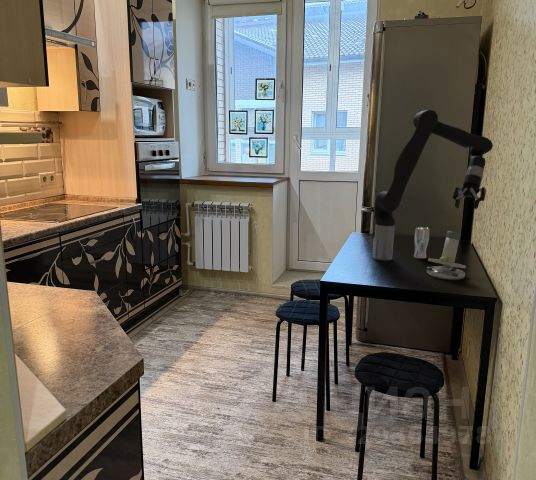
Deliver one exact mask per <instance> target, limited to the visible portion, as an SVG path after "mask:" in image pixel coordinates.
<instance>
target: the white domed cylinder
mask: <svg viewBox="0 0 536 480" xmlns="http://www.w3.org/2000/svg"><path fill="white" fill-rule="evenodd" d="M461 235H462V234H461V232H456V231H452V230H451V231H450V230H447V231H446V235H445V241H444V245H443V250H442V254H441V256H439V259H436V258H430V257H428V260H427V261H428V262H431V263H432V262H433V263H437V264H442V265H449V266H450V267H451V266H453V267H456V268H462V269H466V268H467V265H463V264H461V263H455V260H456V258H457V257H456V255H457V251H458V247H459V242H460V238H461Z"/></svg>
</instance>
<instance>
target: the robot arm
mask: <svg viewBox="0 0 536 480" xmlns="http://www.w3.org/2000/svg"><path fill="white" fill-rule="evenodd" d="M412 119H413V121H412V123H413V126H414V127H415V130H414V133H413V135H412V136H411V137H410V139H409V140H408V141H407V143H406V144H405V145H404V146H403V148H402V149H401V151H400V153H399V155H398V157H397V159H396V161H395V164H394V169H393V179H392V181H391V182H392V183H391V185H390V186H389V188H388V191H386V190H385V191H381V192H378V194H377V195H376V197H375V200H374V201H375V202H374V219H375V227H374V230H375V231H374V237H373V240H372V250H371V251H372V252H371V253H372V255H371V257H372V258H373V259H374V260H378V261H391V260H393V254H394V253H393V252H394V249H393V248H394V239H395V227H396V219H395V218H394V216H393V212H395V211H396V210H397V209H398V208H399V206H400V203H401V201H402V199H403V195H404V193H405V190H406V187H407V185H408V183H409V181H410V179H411V176H412V174H413V172H414V170H415V168H416V167H417V164H418V161H419V160H420V158H421V155H422V153H423V151H424V148H425V146H426V144H427V142H428V140H429V138H430V136H431V135H432V134H433V135H436V136H438V137H441V138H443V139H446V140H448V141H449V142H452V143H454V144H455V145H458V146H460V147H462V148H464V149H465V148H466V149H467V148H470V149H469V162H468V163H469V164H468V167H467V170H466V174H465V176H464V181H463V183H462V184H463V185H462V187H460V188H459V187H458V186H457V187H455V190H454V192H453V196H452V199H453V200H454V201H455V203H454V207H455V208H456V209H459V208H460V204H461V201H462V200H464V199H465V198H475V201H474V202H473V209H474V210H477V209H478V208H479V204H480V202H484V201H485V200H486V199H485V198H486V192H487V189H486V188H485V187H484V186H483V187H481V184H482V182H483V178H484V177H483V176H484V171H485V167H486V166H485V165H486V159H485V157H483V156H484V155H486V154H487V153H489V152H491V151H492V149H493V147H494V144H493V142H492V140H491V139H489V138H488V137H486V136H482V135H478V134H474V133H473V134H472V133H470V132H468V131H466V130H464V129H462V128H459V127H456V126H454V125H450V124H447V123H443V122H441V121H439V116H438V114H437V112H436V111H435V110H433V109H425V110H422V111H419V112H417V113H416V114H415V115H414V117H413V118H412ZM479 193H480V195H478V194H479ZM479 196H480V197H479Z"/></svg>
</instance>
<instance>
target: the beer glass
mask: <svg viewBox="0 0 536 480" xmlns="http://www.w3.org/2000/svg"><path fill="white" fill-rule="evenodd" d="M429 241H430V228H429V227H425V226H416V227H415V230H414V254H413V258H416V259H419V260H420V259H422V260H423V259H427V247H428V244H429Z"/></svg>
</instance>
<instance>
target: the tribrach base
mask: <svg viewBox="0 0 536 480" xmlns="http://www.w3.org/2000/svg"><path fill="white" fill-rule="evenodd" d="M427 273H428V274H429V276H430V275H431V276H430V277H432V278H436V277H437V278H436V279H441V280H446V281H447V280H451V281H457V280H463V279H465V278H466V272H465V271H464V270H461V269H459V268H457V267H453V266H449V265H445V264H442V265H441V266H440V265H439V266H438V265H437V266H426V274H427ZM428 274H427V275H428Z"/></svg>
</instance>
